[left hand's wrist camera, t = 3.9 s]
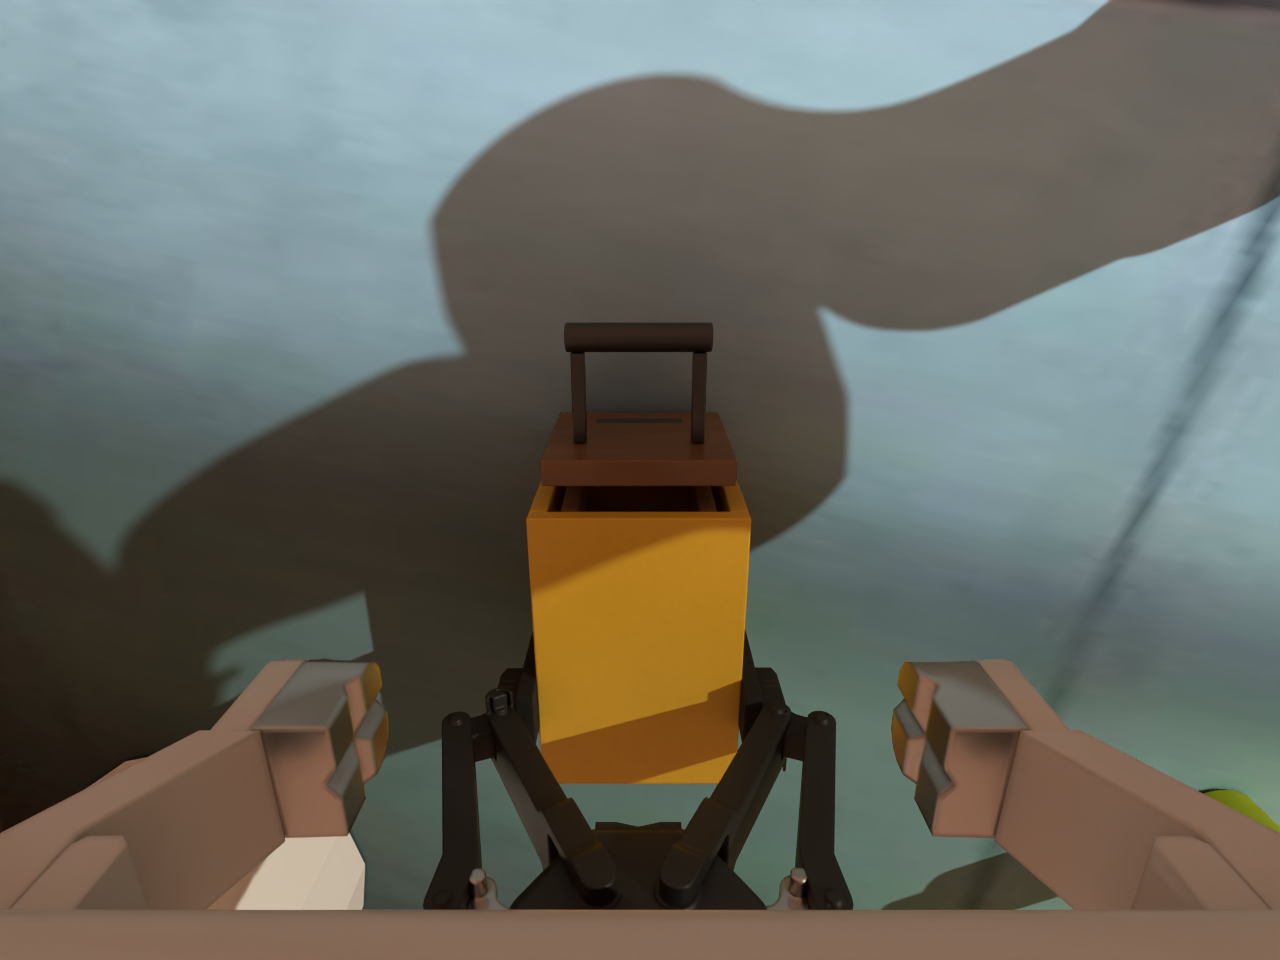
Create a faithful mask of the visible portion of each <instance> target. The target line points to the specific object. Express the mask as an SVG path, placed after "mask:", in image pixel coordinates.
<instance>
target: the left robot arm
mask: <svg viewBox="0 0 1280 960" xmlns="http://www.w3.org/2000/svg"><path fill="white" fill-rule="evenodd" d="M382 685H383V684H382V679H381V674H380V668H379V666H378V665H377V664H376V663H375V662H374V661H349V660H274V661H271V662H268V663H267V664H266V665H265V667H264V668H263V669H262V670H261V671H260V672H259V674H258V675H257V676H256V677H255V678H254V679H253V681H252V682H251V683H250V684H249V685H248V686H247V688H246V689H245V690H244V691H243V692H242V694H241V695H240V696H239V697H238V698H237V699H236V701H235V702H234V703H233V704H232V705H231V706H230V708H229V709H228V710H227V711H226V712H225V713H224V715H223V716H222V717H221V718H220V719H219V720H218V722H217V723H216V724H215V725H214V726H213V727H212V729H211V730H199V731H197V732H195V733H193V734H191V735H189V736H187V737H185V738H184V739H182V740H180V741H178V742H176V743H174V744H172V745H170V746H168V747H166V748H164V749H162V750H160V751H158V752H156V753H154V754H153V755H151V756H149V757H147V758H145V759H143V760H141V761H139V762H137V763H135V764H133V765H131V766H129V767H127V768H125V769H123V770H122V771H120V772H118V773H116V774H114V775H112V776H110V777H108V778H106V779H104V780H102V781H100V782H98V783H96V784H94V785H92V786H91V787H89V788H87V789H85V790H83V791H81V792H79V793H77V794H75V795H73V796H71V797H69V798H67V799H65V800H63V801H61V802H60V803H58V804H56V805H54V806H52V807H50V808H48V809H46V810H44V811H42V812H40V813H38V814H36V815H34V816H32V817H30V818H29V819H27V820H25V821H23V822H21V823H19V824H17V825H15V826H13V827H11V828H9V829H7V830H5V831H3V832H1V833H0V960H1280V833H1278V832H1276V831H1274V830H1272V829H1270V828H1268V827H1267V826H1265V825H1263V824H1261V823H1259V822H1257V821H1255V820H1253V819H1251V818H1249V817H1247V816H1245V815H1243V814H1241V813H1239V812H1238V811H1236V810H1234V809H1232V808H1230V807H1228V806H1226V805H1224V804H1222V803H1220V802H1218V801H1216V800H1214V799H1212V798H1211V797H1209V796H1207V795H1205V794H1203V793H1201V792H1199V791H1197V790H1195V789H1193V788H1191V787H1189V786H1187V785H1185V784H1183V783H1182V782H1180V781H1178V780H1176V779H1174V778H1172V777H1170V776H1168V775H1166V774H1164V773H1162V772H1160V771H1158V770H1156V769H1154V768H1153V767H1151V766H1149V765H1147V764H1145V763H1143V762H1141V761H1139V760H1137V759H1135V758H1133V757H1131V756H1129V755H1127V754H1126V753H1124V752H1122V751H1120V750H1118V749H1116V748H1114V747H1112V746H1110V745H1108V744H1106V743H1104V742H1102V741H1100V740H1098V739H1097V738H1095V737H1093V736H1091V735H1089V734H1087V733H1085V732H1083V731H1081V730H1069V729H1068V727H1067V726H1066V725H1065V724H1064V723H1063V722H1062V720H1061V719H1060V718H1059V717H1058V716H1057V715H1056V713H1055V712H1054V711H1053V710H1052V709H1051V708H1050V706H1049V705H1048V704H1047V703H1046V702H1045V701H1044V699H1043V698H1042V697H1041V696H1040V695H1039V694H1038V692H1037V691H1036V690H1035V689H1034V688H1033V686H1032V685H1031V684H1030V683H1029V682H1028V681H1027V679H1026V678H1025V677H1024V676H1023V675H1022V674H1021V672H1020V671H1019V670H1018V669H1017V668H1016V667H1015V665H1014V664H1013V663H1011V662H1009V661H1007V660H1005V659H991V660H971V661H931V662H904V663H903V665H902V667H901V669H900V672H899V678H898V684H897V685H898V687H899V689H900V691H901V693H902V694H903V696H904V699H903V700H902V701H901V703H900V704H899V705H898V706H897V707H896V708H895V709H894V710H893V719H892V727H891V730H892V742H893V749H894V753H895V756H896V760H897V762H898V765H899V767H900V769H901V771H902V773H903V775H904V776H906V777H907V778H908V779H910V780H911V781H913V782H914V783H915V784H917V785H916V791H915V797H914V799H915V801H916V803H917V805H918V807H919V809H920V811H921V813H922V815H923V817H924V819H925V821H926V823H927V826H928V828H929V830H930V832H931V834H932V836H941V837H976V838H995V842H996V843H997V844H999V845H1000V846H1001V847H1002V848H1003V849H1004V850H1006V851H1007V852H1008V853H1009V854H1010V855H1011V856H1013V857H1014V858H1015V859H1016V860H1017V861H1018V862H1020V863H1021V864H1022V865H1023V866H1024V867H1025V868H1027V869H1028V870H1029V871H1030V872H1031V873H1032V874H1033V875H1035V876H1036V877H1037V878H1038V879H1039V880H1040V881H1042V882H1043V883H1044V884H1045V885H1046V886H1047V887H1049V888H1050V889H1051V890H1052V891H1053V892H1054V893H1056V894H1057V895H1058V896H1059V897H1060V898H1061V899H1063V900H1064V901H1065V902H1066V903H1067V904H1068V905H1069V906H1071V907H1072V908H1073V909H1074V910H206V909H207V908H208V907H210V906H211V905H212V904H213V903H214V902H215V901H217V900H218V899H219V898H220V897H221V896H222V895H224V894H225V893H226V892H227V891H228V890H229V889H231V888H232V887H233V886H234V885H235V884H236V883H238V882H239V881H240V880H241V879H242V878H243V877H245V876H246V875H247V874H248V873H249V872H250V871H252V870H253V869H254V868H255V867H256V866H257V865H258V864H260V863H261V862H262V861H263V860H264V859H265V858H267V857H268V856H269V855H270V854H271V853H272V852H274V851H275V850H276V849H277V848H278V847H279V846H281V845H282V844H283V843H284V842H285V838H303V837H338V836H348V834H349V832H350V830H351V828H352V826H353V824H354V822H355V820H356V818H357V815H358V813H359V811H360V809H361V807H362V805H363V803H364V801H365V799H366V797H365V791H364V785H363V784H365V783H366V782H367V781H369V780H370V779H372V778H373V777H374V776H376V775H377V774H378V771H379V769H380V767H381V765H382V762H383V760H384V757H385V752H386V747H387V743H388V717H387V710H386V709H385V708H384V707H383V706H382V704H381V703H380V702H379V701H378V700H377V699H376V696H377V695H378V693H379V691H380V689H381V687H382Z"/></svg>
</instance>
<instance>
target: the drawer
mask: <svg viewBox="0 0 1280 960" xmlns="http://www.w3.org/2000/svg"><path fill="white" fill-rule="evenodd" d="M564 341H565V350H566V352H571V354H570V358H571V386H572V413H560V416H559V418H558V420H557V423H556V425H555V428H554V430H553V432H552V435H551V437H550V439H549V442H548V444H547V447H546V449H545V451H544V454H543V456H542V459H541V461H540V467H541V484H542V486H567V490H566V493H565V497H564V501H563V504H562V508H561V512H717V510H716V506H715V502H714V498H713V494H712V491H711V487H710V486H736V477H737V460H736V457H735V455H734V452H733V450H732V447H731V445H730V442H729V440H728V437H727V435H726V432H725V430H724V427H723V425H722V422H721V420H720V417H719V415H718V413H705V404H706V373H707V353H706V352H711V351H712V346H713V325H712V323H566V324H565V329H564ZM585 352H693V361H692V400H691V413H587V412H586V376H585Z"/></svg>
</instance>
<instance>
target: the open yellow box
mask: <svg viewBox="0 0 1280 960" xmlns="http://www.w3.org/2000/svg"><path fill="white" fill-rule="evenodd" d="M710 487H711V491H712V494H713V498H714V502H715V506H716V510H717V512H561V508H562V504H563V501H564V497H565V493H566V490H567V486H542V484H541V482H540V485H539V487H538V490H537V493H536V495H535V498H534V500H533V503H532V506H531V508H530V511H529V514H528V516H527V519H526V525H527V541H528V557H529V573H530V589H531V605H532V620H533V636H534V652H535V668H536V681H537V697H538V713H539V731H540V747H541V754H542V756H543V758H544V760H545V761H546V763H547V765H548V766H549V768H550V770H551V772H552V773H553V775H554V777H555V778H556V780H557V782H558V783H719V782H720V780H721V778H722V777H723V775H724V773H725V772H726V770H727V768H728V766H729V765H730V763H731V761H732V760H733V758H734V756H735V755H736V753H737V751H738V734H739V715H740V698H741V681H742V668H743V651H744V634H745V618H746V601H747V584H748V568H749V551H750V534H751V517H750V515H749V511H748V509H747V506H746V503H745V501H744V498H743V495H742V492H741V490H740V487H739V484H738V482H737V479H736V486H710Z"/></svg>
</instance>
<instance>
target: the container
mask: <svg viewBox="0 0 1280 960" xmlns="http://www.w3.org/2000/svg"><path fill="white" fill-rule="evenodd" d="M146 758H147V757H146ZM143 759H145V758H141V759H135V760H130V761H125V762H124V763H122V764H121V765H120V766H118V767H117V768H115V769H114V770H112V771H111V772H109V773H108V774H106V775H105V776H104V777H102V778H101V779H99V780H98V781H96V782H95V783H93V784H92V785H94V784H96V783H98V782H100V781H102V780H104V779H106V778H108V777H110V776H112V775H114V774H116V773H118V772H120V771H122V770H123V769H125V768H127V767H129V766H131V765H133V764H135V763H137V762H139V761H141V760H143ZM92 785H91V786H92ZM91 786H89V787H91ZM89 787H88V788H89ZM86 789H87V788H86ZM364 879H365V863H364V861H363V859H362V857H361V855H360V853H359V851H358V849H357V847H356V845H355V843H354V841H353V839H352V837H351V835H350V833H349V834H348V836H338V837H303V838H285V842H284V843H283V844H282V845H281V846H279V847H278V848H277V849H276V850H275V851H274V852H272V853H271V854H270V855H269V856H268V857H267V858H265V859H264V860H263V861H262V862H261V863H260V864H258V865H257V866H256V867H255V868H254V869H253V870H252V871H250V872H249V873H248V874H247V875H246V876H245V877H243V878H242V879H241V880H240V881H239V882H238V883H236V884H235V885H234V886H233V887H232V888H231V889H229V890H228V891H227V892H226V893H225V894H224V895H222V896H221V897H220V898H219V899H218V900H217V901H215V902H214V903H213V904H212V905H211V906H210V907H208V908H207V909H206V910H362V907H363V902H364Z"/></svg>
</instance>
